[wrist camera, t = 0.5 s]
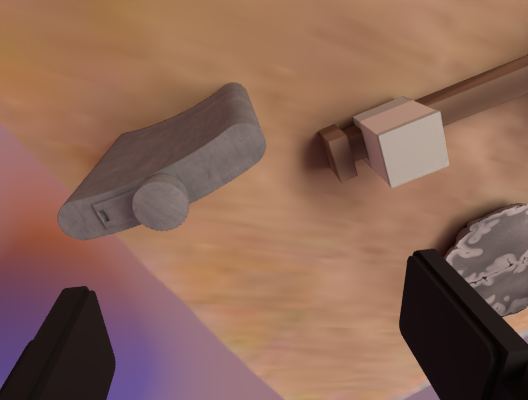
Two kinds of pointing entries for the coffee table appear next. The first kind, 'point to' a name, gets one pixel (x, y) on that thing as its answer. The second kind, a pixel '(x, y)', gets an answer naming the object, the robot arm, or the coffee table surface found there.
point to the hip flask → (166, 168)
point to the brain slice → (495, 258)
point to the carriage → (403, 140)
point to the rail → (446, 101)
